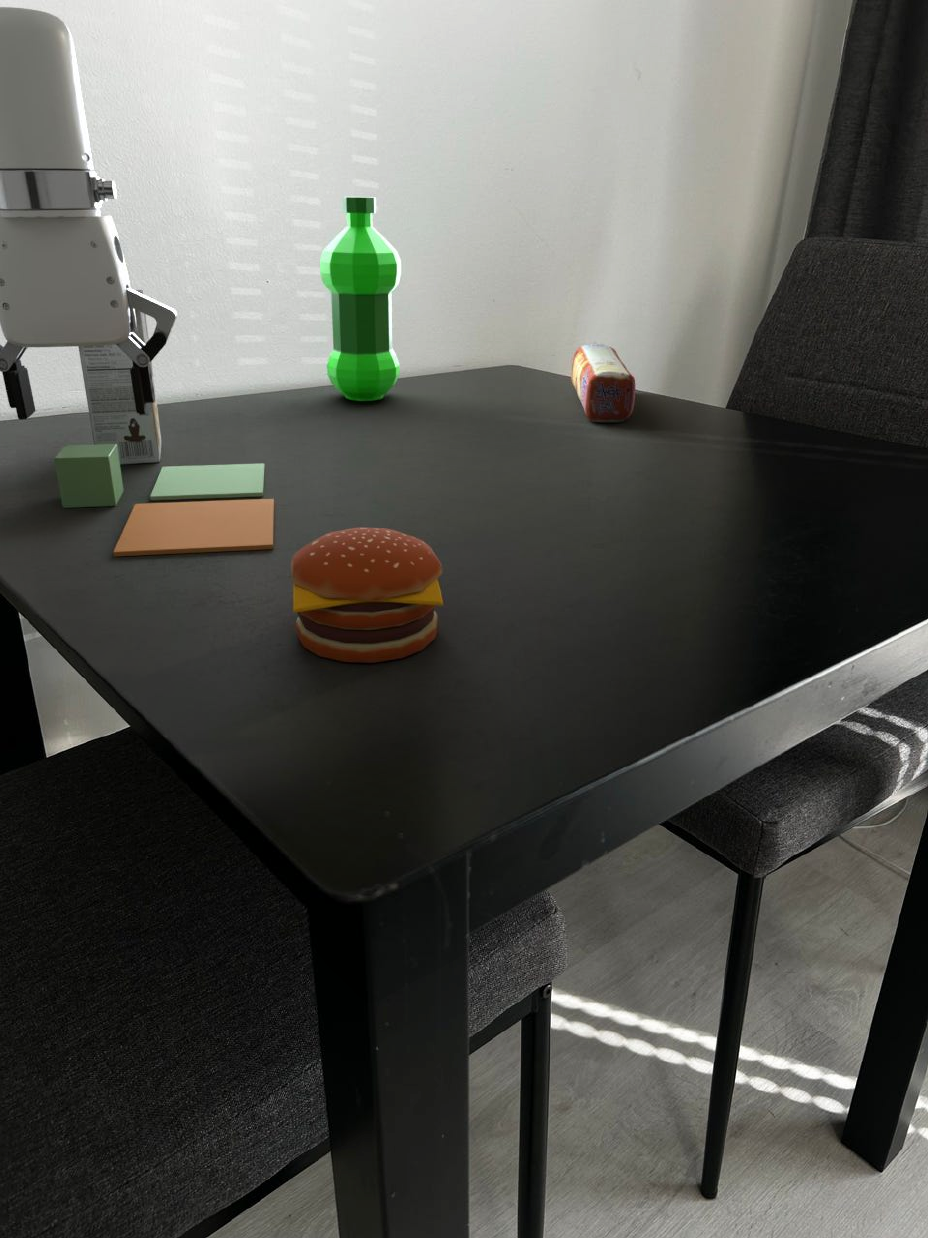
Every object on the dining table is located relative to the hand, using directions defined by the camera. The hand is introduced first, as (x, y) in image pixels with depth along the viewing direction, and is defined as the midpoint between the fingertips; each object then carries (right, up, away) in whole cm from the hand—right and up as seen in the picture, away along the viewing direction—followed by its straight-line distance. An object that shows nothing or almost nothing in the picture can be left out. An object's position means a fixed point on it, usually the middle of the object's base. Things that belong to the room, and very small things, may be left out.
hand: (86, 413), depth 79 cm
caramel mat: (+11, -10, -3) cm, 15 cm away
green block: (-1, -7, +3) cm, 8 cm away
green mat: (+8, -5, +9) cm, 13 cm away
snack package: (+51, +11, +44) cm, 68 cm away
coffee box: (-3, 0, +18) cm, 18 cm away
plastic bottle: (+19, +13, +46) cm, 52 cm away
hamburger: (+27, -19, -20) cm, 39 cm away
